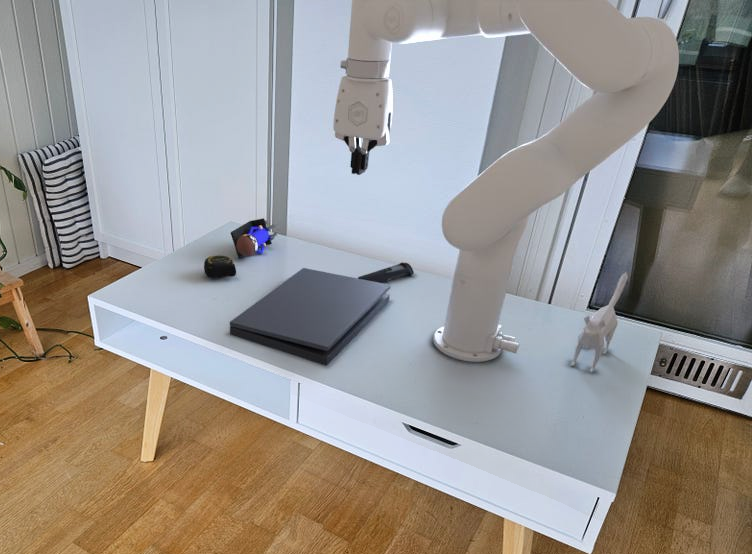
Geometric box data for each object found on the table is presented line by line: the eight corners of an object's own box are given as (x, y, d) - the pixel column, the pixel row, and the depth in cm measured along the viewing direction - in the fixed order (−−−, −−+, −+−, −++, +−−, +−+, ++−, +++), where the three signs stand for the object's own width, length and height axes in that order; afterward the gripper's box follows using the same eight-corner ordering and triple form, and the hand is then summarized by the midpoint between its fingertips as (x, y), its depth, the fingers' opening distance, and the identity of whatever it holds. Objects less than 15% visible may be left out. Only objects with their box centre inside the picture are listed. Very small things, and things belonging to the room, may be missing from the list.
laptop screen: (390, 289, 135) (390, 284, 135) (327, 351, 113) (327, 346, 113) (303, 271, 145) (303, 267, 144) (229, 326, 123) (229, 321, 122)
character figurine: (280, 246, 162) (249, 267, 151) (256, 238, 165) (224, 258, 154) (283, 217, 158) (251, 236, 147) (258, 209, 161) (225, 228, 150)
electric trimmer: (352, 286, 143) (353, 273, 142) (403, 270, 150) (405, 258, 149) (363, 292, 141) (364, 279, 139) (414, 276, 148) (416, 263, 146)
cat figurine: (561, 374, 114) (583, 305, 106) (592, 332, 127) (614, 267, 120) (587, 384, 111) (611, 313, 104) (616, 339, 125) (640, 273, 117)
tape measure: (206, 282, 143) (205, 267, 141) (202, 270, 149) (202, 255, 146) (236, 280, 144) (236, 265, 142) (231, 267, 150) (231, 253, 148)
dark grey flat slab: (388, 301, 137) (389, 293, 136) (326, 366, 115) (327, 357, 114) (302, 278, 145) (303, 271, 144) (229, 334, 124) (229, 326, 123)
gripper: (321, 68, 114) (315, 171, 124) (399, 77, 108) (387, 184, 118) (339, 63, 120) (332, 162, 129) (415, 71, 113) (401, 174, 123)
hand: (358, 172), depth 123 cm, fingers closed
